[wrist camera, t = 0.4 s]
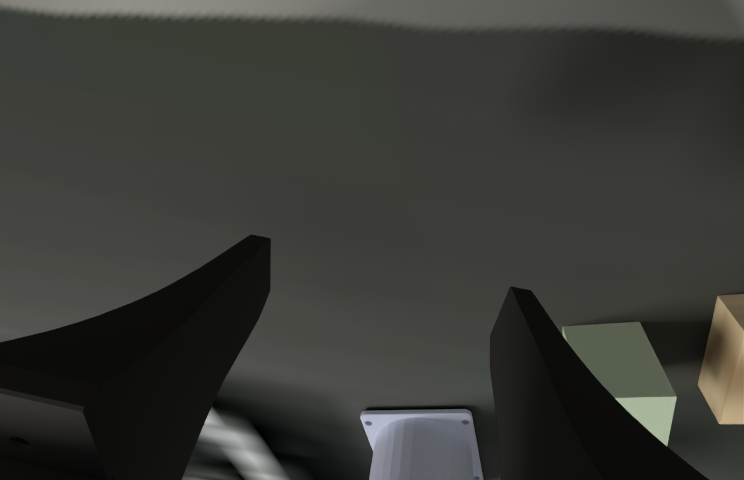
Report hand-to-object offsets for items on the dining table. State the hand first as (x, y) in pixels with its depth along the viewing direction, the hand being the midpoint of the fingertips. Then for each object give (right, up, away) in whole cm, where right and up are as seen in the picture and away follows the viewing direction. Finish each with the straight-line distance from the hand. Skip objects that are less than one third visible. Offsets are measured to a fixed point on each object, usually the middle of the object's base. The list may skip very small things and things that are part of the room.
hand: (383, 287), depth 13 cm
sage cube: (+13, -5, +13) cm, 19 cm away
